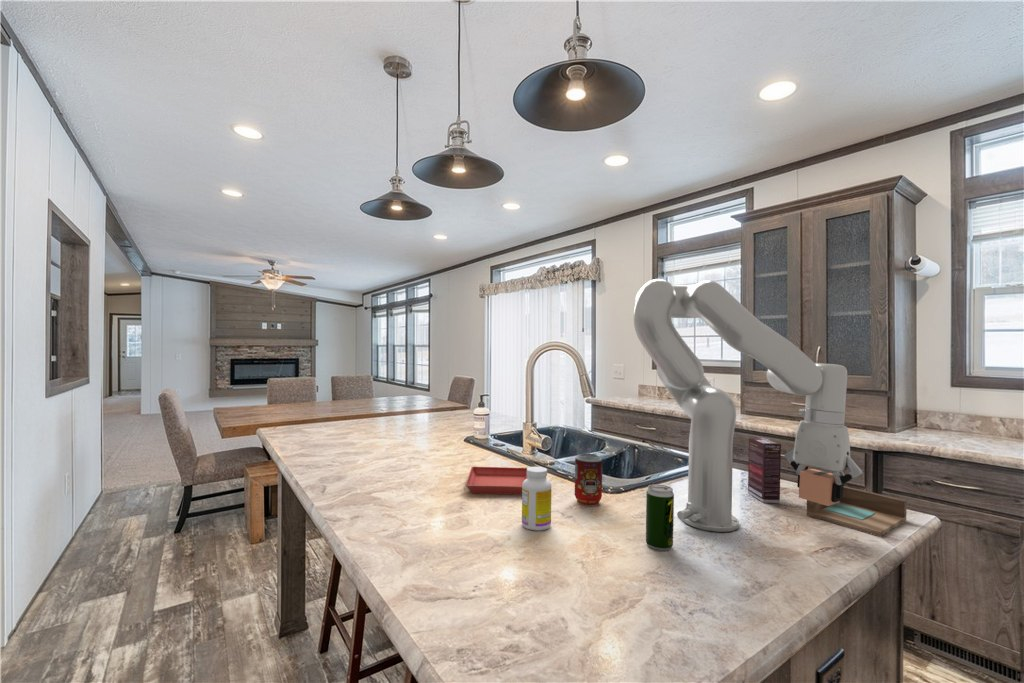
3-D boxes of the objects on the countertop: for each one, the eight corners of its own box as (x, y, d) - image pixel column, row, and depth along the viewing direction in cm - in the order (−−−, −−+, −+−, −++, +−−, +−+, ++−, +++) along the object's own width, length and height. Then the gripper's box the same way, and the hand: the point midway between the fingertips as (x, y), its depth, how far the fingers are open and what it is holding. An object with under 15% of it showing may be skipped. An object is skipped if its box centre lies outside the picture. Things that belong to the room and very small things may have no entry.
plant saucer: (531, 498, 125) (531, 485, 125) (464, 496, 125) (465, 484, 125) (529, 478, 143) (529, 467, 143) (471, 477, 143) (471, 466, 143)
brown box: (828, 506, 101) (829, 478, 101) (798, 497, 106) (800, 470, 106) (839, 502, 105) (841, 475, 105) (810, 493, 109) (812, 468, 109)
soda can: (579, 507, 117) (580, 459, 117) (571, 498, 124) (571, 452, 124) (605, 506, 118) (606, 458, 118) (596, 497, 125) (597, 452, 125)
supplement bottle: (555, 523, 106) (556, 467, 106) (544, 533, 100) (545, 474, 100) (528, 518, 109) (529, 463, 109) (516, 528, 103) (517, 470, 103)
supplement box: (781, 503, 123) (782, 443, 123) (762, 503, 123) (763, 443, 123) (764, 493, 131) (765, 437, 131) (746, 492, 131) (747, 436, 131)
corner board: (880, 536, 102) (881, 514, 102) (806, 515, 114) (806, 494, 114) (906, 520, 112) (906, 500, 112) (835, 502, 124) (835, 484, 124)
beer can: (645, 549, 93) (646, 490, 94) (645, 539, 99) (646, 482, 99) (673, 553, 92) (674, 493, 92) (672, 542, 97) (673, 485, 97)
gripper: (776, 412, 110) (771, 487, 110) (862, 425, 96) (857, 512, 96) (791, 411, 114) (787, 483, 115) (876, 423, 100) (871, 506, 100)
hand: (819, 495), depth 105 cm, fingers closed on brown box, 6 cm apart
